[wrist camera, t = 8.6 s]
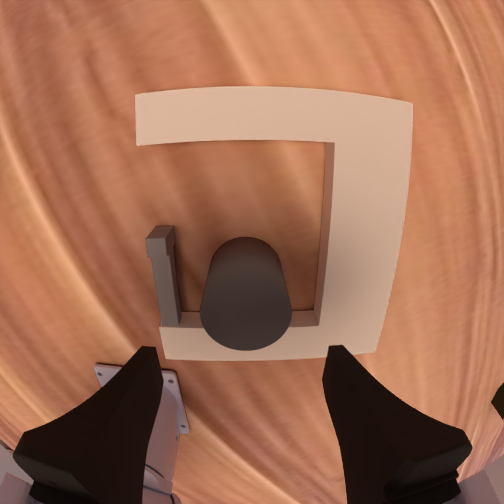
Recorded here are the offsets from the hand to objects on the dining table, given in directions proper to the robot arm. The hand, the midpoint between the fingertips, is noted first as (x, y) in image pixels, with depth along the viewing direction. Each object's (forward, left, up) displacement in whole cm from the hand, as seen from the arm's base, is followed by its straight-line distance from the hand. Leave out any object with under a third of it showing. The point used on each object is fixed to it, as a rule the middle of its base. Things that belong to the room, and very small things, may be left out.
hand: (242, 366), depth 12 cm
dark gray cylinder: (0, 0, -9) cm, 9 cm away
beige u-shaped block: (+3, -2, -9) cm, 10 cm away
